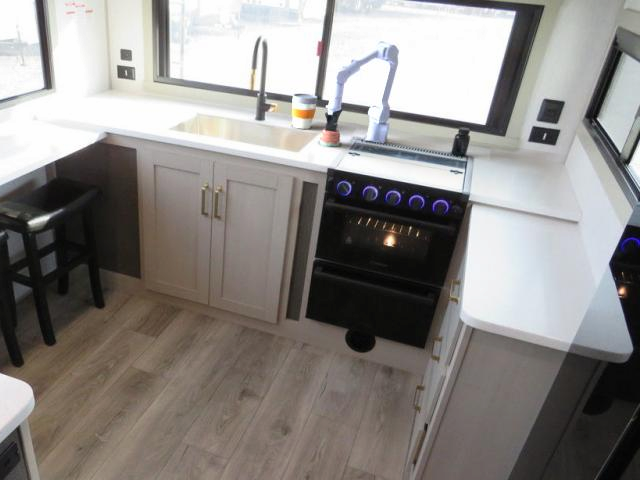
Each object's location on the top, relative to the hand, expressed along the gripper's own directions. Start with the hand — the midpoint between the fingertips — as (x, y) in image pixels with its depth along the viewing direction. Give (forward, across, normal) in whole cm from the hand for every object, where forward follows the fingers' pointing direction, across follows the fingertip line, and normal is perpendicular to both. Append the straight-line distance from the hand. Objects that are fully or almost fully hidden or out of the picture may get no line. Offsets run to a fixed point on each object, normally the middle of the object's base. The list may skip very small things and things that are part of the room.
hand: (331, 126), depth 269 cm
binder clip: (+2, 0, 0) cm, 2 cm away
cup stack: (+8, 0, 0) cm, 8 cm away
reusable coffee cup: (+8, -20, -20) cm, 29 cm away
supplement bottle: (+8, -17, +58) cm, 61 cm away
